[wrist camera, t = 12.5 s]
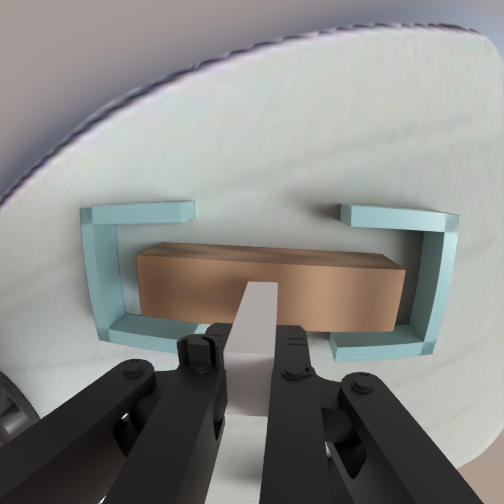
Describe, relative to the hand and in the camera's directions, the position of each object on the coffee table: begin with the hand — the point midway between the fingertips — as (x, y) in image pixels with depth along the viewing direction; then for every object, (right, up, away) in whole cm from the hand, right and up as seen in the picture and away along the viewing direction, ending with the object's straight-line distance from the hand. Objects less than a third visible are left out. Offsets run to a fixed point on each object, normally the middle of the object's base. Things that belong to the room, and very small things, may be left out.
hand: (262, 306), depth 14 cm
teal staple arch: (-8, +1, +6) cm, 11 cm away
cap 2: (+9, +1, +5) cm, 10 cm away
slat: (+1, +1, +6) cm, 6 cm away
